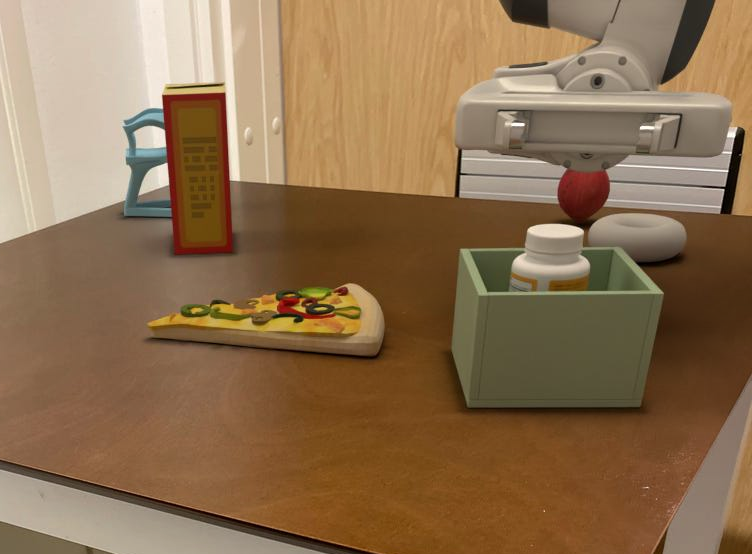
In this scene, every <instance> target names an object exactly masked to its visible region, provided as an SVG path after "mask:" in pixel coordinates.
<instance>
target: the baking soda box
mask: <svg viewBox="0 0 752 554" xmlns="http://www.w3.org/2000/svg"><path fill="white" fill-rule="evenodd" d="M226 93H227V91H226V82H224V81H223V82H220V81H219V82H198V83H197V82H196V83H195V82H193V83H169V84H168V83H166V84H165V85H164V88H163V91H162V94H161V102H162V103H161V104H162V109H163V115H164V127H165V130H164V139H165V147H166V152H167V163H166V164H167V174H168V186H169V187H168V188H169V189H168V190H169V199H170V201H171V207H170V208H171V214H172V217H171V224H172V234H173V235H172V237H173V251H174V255H177V256H178V255H202V254H224V253H225V254H226V253H229V254H230V253H234V242H233V241H234V240H233V239H234V238H233V221H232V219H233V217H232V199H231V196H232V195H231V182H230V181H231V177H230V157H229V156H230V155H229V137H228V136H229V135H228V133H229V132H228V116H227V115H228V114H227V94H226Z"/></svg>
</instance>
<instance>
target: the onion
mask: <svg viewBox="0 0 752 554" xmlns="http://www.w3.org/2000/svg"><path fill="white" fill-rule="evenodd" d="M610 192H611V181H610V176H609V174H608V172H607V169H606V170H604V171H600V172H594V173H580V172H575V171H572V170H569V169H567V168H566V169H565V171H564V173H563V174H562V176H561V177H560V180H559V182H558V186H557V193H556V194H557V197H556V198H557V202H558V204H559V208H560V209H561V210H562V211H563V213H564V214H566V215H567V216H568V217H569V218H570V220H572V221H573V222H574V223H576V224H578V225H579V224H581V225H582V224H584V223H585V222H586V221H587V220H589V219H590V218H591V217H593V216H594V215H595V214H596V213H598V212H599V211H600V210H601V209H602V208H603V207H604V206H605V204H606V202H607V201H608V199H609V196H610Z"/></svg>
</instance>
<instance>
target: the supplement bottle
mask: <svg viewBox="0 0 752 554" xmlns="http://www.w3.org/2000/svg"><path fill="white" fill-rule="evenodd" d="M584 236H585V232H584V230H583V228H581V227H578V226H576V225H575V226H574V225H570V224H562V223H543V224H542V223H541V224H536V225H533V226H530V227H529V228H528V229H527V230H526V238H525V243H524V248H525V250H524V251H525V253H524V254H521V255H519V256H518V257H517V258H516V259H515V260H514V261H513V263H512V268H511V277H510V286H509V292H558V291H587V286H588V279H589V273H590V264H589V262H588V260H587V259H586V258H585V257H583V256H581V255H580V254H581V252H582V248H583V247H584V245H583V243H584Z"/></svg>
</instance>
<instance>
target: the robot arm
mask: <svg viewBox="0 0 752 554" xmlns="http://www.w3.org/2000/svg"><path fill="white" fill-rule="evenodd" d="M498 1H499V3H500V5H501V8H502V9H503V11H504V12H505V14H506V15H507V17H508V18H509V20H510V21H511V23H515V24H520V25H526V26H531V27H537V28H542V29H547V30H550V29H555V30H558V31H562V32H565V33H568V34H571V35H574V36H578V37H582V38H585V39H588V40H592V41H594V42H595V43H592V44H591V45H588V46H587V47H585V48H584V49H582V50H581V51H579V52H575V53H572V54H569V55H566V56H564V57H561V58H559V59H554V60H550V61H540V62H531V63H521V64H511V65H503V66H502V65H501V66H499V67H496V68H495V69H494V70H493V74H492V78H489V79H485V80H483V81H480V82H478V83H476V84H475V85H473V86H471V87H470V88H468V89H467V90H466V91H465V92H464V93H463V94H461V95H460V97H459V98H458V100H457V104H456V111H455V119H454V120H455V121H454V140H453V141H454V146H455V148H456V149H458V150H462V151H487V152H488V153H489V154H493V155H500V156H509V157H510V156H511V157H518V158H525V159H534V160H538V161H542V162H545V163H547V164H551V165H554V166H561V167H563V168H565V169H566V170H567V169H569V170H572V171H575V172H580V173H594V172H600V171H604V170H606V171H607V170H609V169H612V168H613V167H616V166H617V165H619V164H620V163H622V162H623V161H624V160H625V159H627V158H628V157H630V156H642V157H643V156H646V157H676V158H678V157H679V158H702V159H703V158H715V157H718V156H720V155H722V153H724V151H725V146H726V143H727V139H728V134H729V130H730V125H731V124H732V122H733V117H732V115H733V111H734V110H733V109H734V106H733V103H732V102H731V100H729V99H728V98H727V97H725V96H724V95H722V94H717V93H710V92H702V91H674V90H673V91H668V90H663V91H661V90H659V87H660V86H662V85H664V84H667V83H668V82H670V81H671V80H673V79H674V78H675V77H677V76H678V75H679V74H681V73H682V72H683V71H684V70H685V69H686V68H687V66H688V65H689V63H690V61H691V59H692V57H693V56H694V53H695V52H696V50H697V48H698V46H699V44H700V42H701V39H702V37H703V36H704V33H705V30H706V28H707V26H708V24H709V20H710V18H711V16H712V12H713V10H714V7H715V3H716V0H498Z"/></svg>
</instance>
